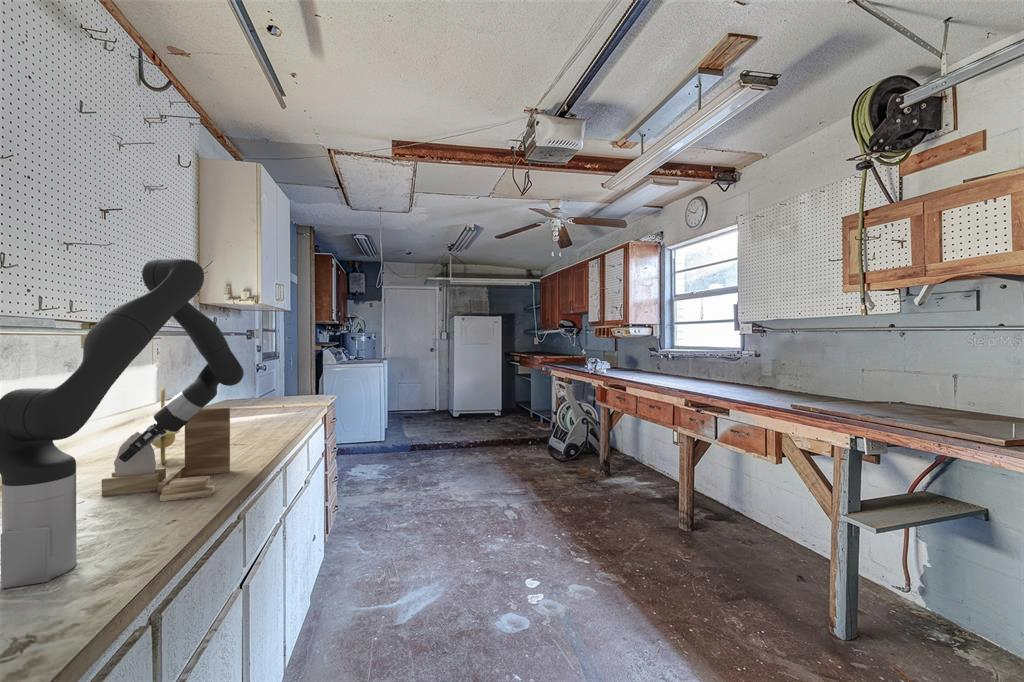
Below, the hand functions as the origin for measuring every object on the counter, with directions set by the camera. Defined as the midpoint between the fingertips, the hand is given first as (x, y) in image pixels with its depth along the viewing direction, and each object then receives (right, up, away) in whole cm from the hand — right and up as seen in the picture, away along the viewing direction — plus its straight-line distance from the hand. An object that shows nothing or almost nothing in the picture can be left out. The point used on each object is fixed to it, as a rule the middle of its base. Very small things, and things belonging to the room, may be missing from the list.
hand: (127, 456), depth 123 cm
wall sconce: (-11, -9, +26) cm, 30 cm away
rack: (+14, -9, +7) cm, 18 cm away
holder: (+2, -9, +1) cm, 9 cm away
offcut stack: (+20, -9, -4) cm, 22 cm away
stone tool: (+2, -9, +1) cm, 9 cm away
